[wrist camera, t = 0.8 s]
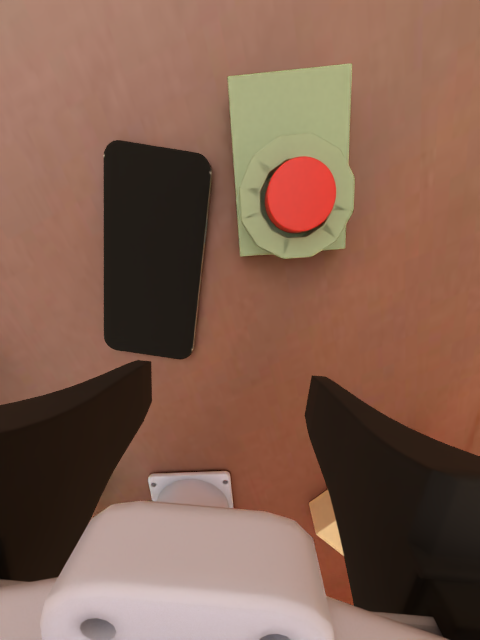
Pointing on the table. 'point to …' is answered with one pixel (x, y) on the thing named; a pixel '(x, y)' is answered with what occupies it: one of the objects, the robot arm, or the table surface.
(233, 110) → the block
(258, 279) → the table surface
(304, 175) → the button
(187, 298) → the smartphone
